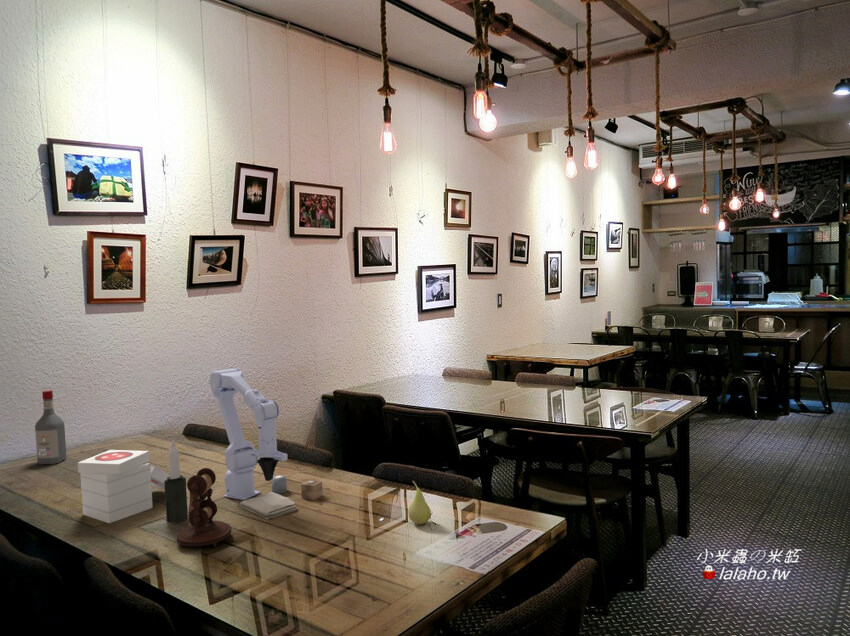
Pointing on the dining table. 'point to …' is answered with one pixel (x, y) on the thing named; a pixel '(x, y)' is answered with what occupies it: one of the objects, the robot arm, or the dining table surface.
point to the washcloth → (269, 505)
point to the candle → (175, 490)
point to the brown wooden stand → (202, 513)
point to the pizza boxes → (118, 484)
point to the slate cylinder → (279, 484)
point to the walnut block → (311, 489)
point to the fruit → (419, 509)
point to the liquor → (50, 434)
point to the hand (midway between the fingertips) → (269, 479)
